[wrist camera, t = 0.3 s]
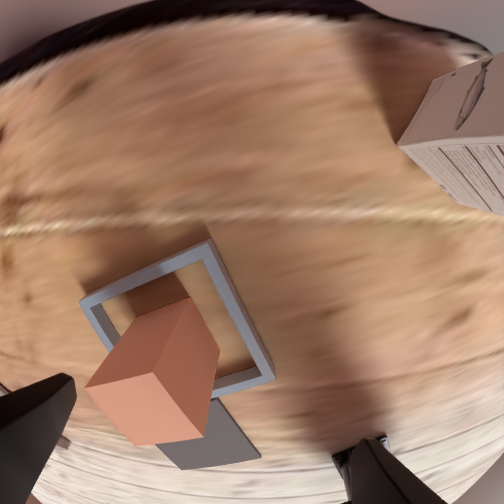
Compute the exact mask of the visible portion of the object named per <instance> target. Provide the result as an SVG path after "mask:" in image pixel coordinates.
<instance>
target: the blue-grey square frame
mask: <svg viewBox="0 0 504 504" xmlns="http://www.w3.org/2000/svg"><path fill="white" fill-rule="evenodd" d="M201 259H202V260H203V262H204V264H205V267H206V269H207V271H208V273H209V275H210V277H211V279H212V281H213V283H214V285H215V287H216V289H217V291H218V293H219V295H220V297H221V299H222V301H223V302H224V304H225V306H226V308H227V310H228V312H229V314H230V316H231V318H232V320H233V322H234V324H235V326H236V328H237V329H238V331H239V333H240V335H241V337H242V339H243V341H244V343H245V345H246V346H247V348H248V350H249V352H250V354H251V356H252V358H253V359H254V361H255V363H256V365H257V366H256V367H253V368H249V369H246V370H243V371H240V372H237V373H233V374H230V375H227V376H223V377H220V378H216V379H215V380H214V385H213V390H212V396H211V398H215V397H219V396H223V395H227V394H230V393H234V392H238V391H241V390H245V389H248V388H251V387H255V386H258V385H261V384H264V383H267V382H271V381H274V380H276V372H275V367H274V365H273V363H272V361H271V359H270V357H269V355H268V353H267V351H266V349H265V347H264V345H263V343H262V341H261V339H260V337H259V335H258V333H257V331H256V329H255V327H254V325H253V323H252V321H251V319H250V317H249V315H248V313H247V311H246V309H245V307H244V305H243V303H242V301H241V299H240V297H239V295H238V293H237V291H236V289H235V287H234V285H233V283H232V281H231V278H230V276H229V274H228V272H227V270H226V268H225V266H224V264H223V262H222V260H221V258H220V255H219V253H218V251H217V249H216V247H215V245H214V243H213V241H212V238H209V239H207V240H205V241H202V242H200V243H198V244H195V245H193V246H191V247H189V248H186V249H184V250H182V251H180V252H177V253H175V254H173V255H171V256H169V257H166V258H164V259H162V260H160V261H158V262H155V263H153V264H151V265H149V266H147V267H144V268H142V269H140V270H138V271H136V272H134V273H131V274H129V275H127V276H125V277H123V278H121V279H119V280H116V281H114V282H112V283H110V284H108V285H106V286H104V287H102V288H100V289H97V290H95V291H93V292H91V293H89V294H87V295H86V296H85V297H83V298H82V299H81V300H80V301H78V303H79V304H80V306H81V308H82V310H83V311H84V313H85V315H86V317H87V318H88V320H89V322H90V323H91V325H92V327H93V328H94V330H95V331H96V333H97V335H98V336H99V338H100V339H101V341H102V342H103V344H104V346H105V347H106V349H107V350H108V352H109V353H110V352H111V350H112V349H113V348H114V346H115V345H116V344H117V342H118V341H119V340H120V338H121V337H120V336H119V334H118V333H117V331H116V329H115V328H114V326H113V324H112V323H111V321H110V319H109V318H108V316H107V314H106V313H105V311H104V309H103V307H102V306H101V304H100V303H101V302H104V301H106V300H108V299H111V298H113V297H115V296H117V295H120V294H122V293H124V292H126V291H129V290H131V289H133V288H136V287H138V286H140V285H143V284H145V283H147V282H149V281H152V280H154V279H156V278H159V277H161V276H163V275H166V274H168V273H170V272H173V271H175V270H177V269H180V268H182V267H184V266H186V265H189V264H191V263H193V262H196V261H198V260H201Z"/></svg>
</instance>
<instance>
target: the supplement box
mask: <svg viewBox="0 0 504 504" xmlns="http://www.w3.org/2000/svg"><path fill="white" fill-rule="evenodd" d="M396 145H397V146H398V147H399V148H400V149H401V150H402V151H403V152H404V153H405V154H406V155H408V156H409V157H410V158H411V159H412V160H413V161H414V162H415V163H416V164H417V165H418V166H419V167H420V168H422V169H423V170H424V171H425V172H426V173H427V174H428V175H429V176H430V177H431V178H432V179H433V180H434V181H435V182H436V183H437V184H438V185H439V186H440V187H441V188H442V189H443V191H444V192H445V193H446V194H447V195H448V196H449V197H450V198H451V199H452V200H453V201H454V202H455V203H457V204H461V205H465V206H469V207H472V208H475V209H479V210H483V211H487V212H490V213H494V214H497V215H501V216H504V52H501V53H498V54H496V55H492V56H490V57H487V58H484V59H481V60H479V61H476V62H474V63H471V64H469V65H466V66H464V67H461V68H459V69H456V70H454V71H452V72H449V73H447V74H444V75H442V76H440V77H438V78H435V79H433V81H432V83H431V85H430V87H429V89H428V92H427V94H426V96H425V97H424V99H423V101H422V103H421V105H420V107H419V109H418V110H417V112H416V114H415V116H414V117H413V119H412V120H411V122H410V124H409V125H408V127H407V129H406V130H405V132H404V133H403V135H402V136H401V138H400V139H399V141H398V142H397V144H396Z"/></svg>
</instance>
